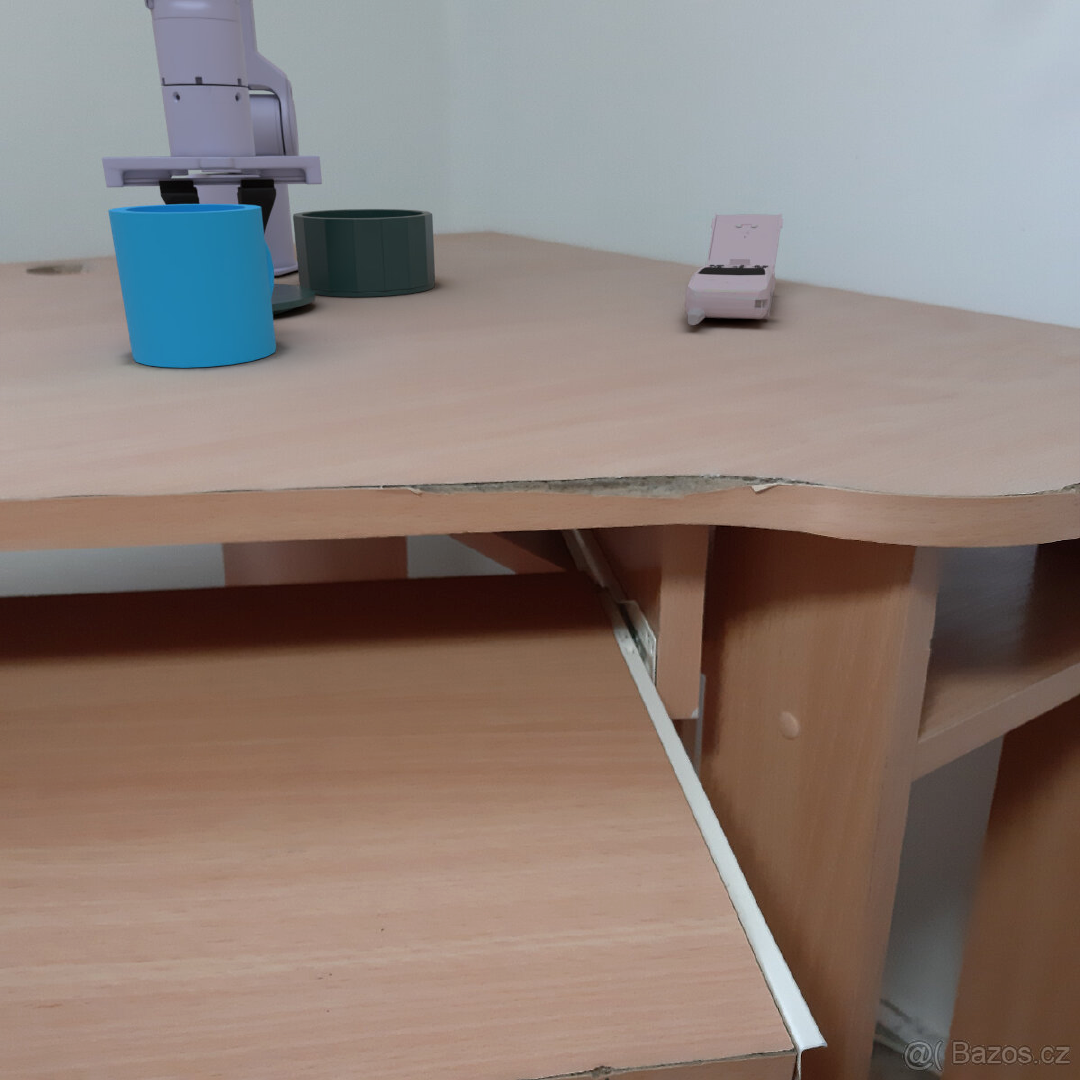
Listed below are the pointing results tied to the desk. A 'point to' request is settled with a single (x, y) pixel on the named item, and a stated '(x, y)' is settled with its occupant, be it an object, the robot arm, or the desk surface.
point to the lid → (290, 297)
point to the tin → (365, 251)
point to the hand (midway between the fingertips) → (230, 289)
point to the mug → (195, 283)
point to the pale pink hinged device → (736, 269)
